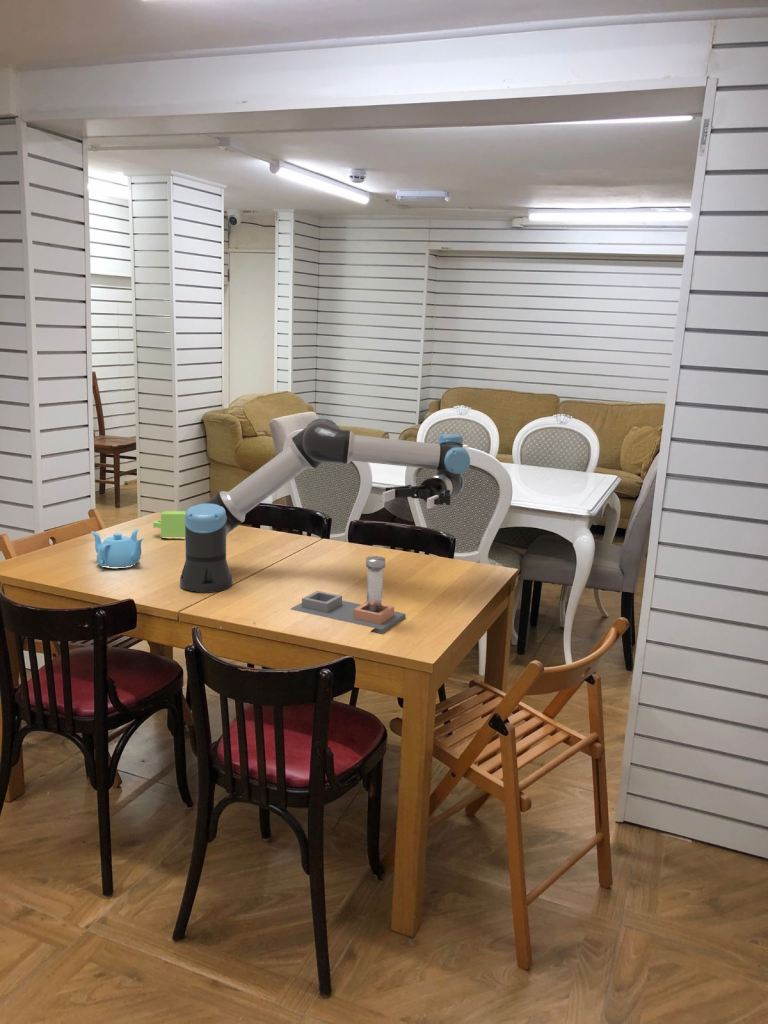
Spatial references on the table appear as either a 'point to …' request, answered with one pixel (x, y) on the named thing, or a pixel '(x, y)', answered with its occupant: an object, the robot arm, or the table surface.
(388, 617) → the dock board
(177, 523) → the gearbox
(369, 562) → the pin
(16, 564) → the table surface
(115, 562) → the teapot
